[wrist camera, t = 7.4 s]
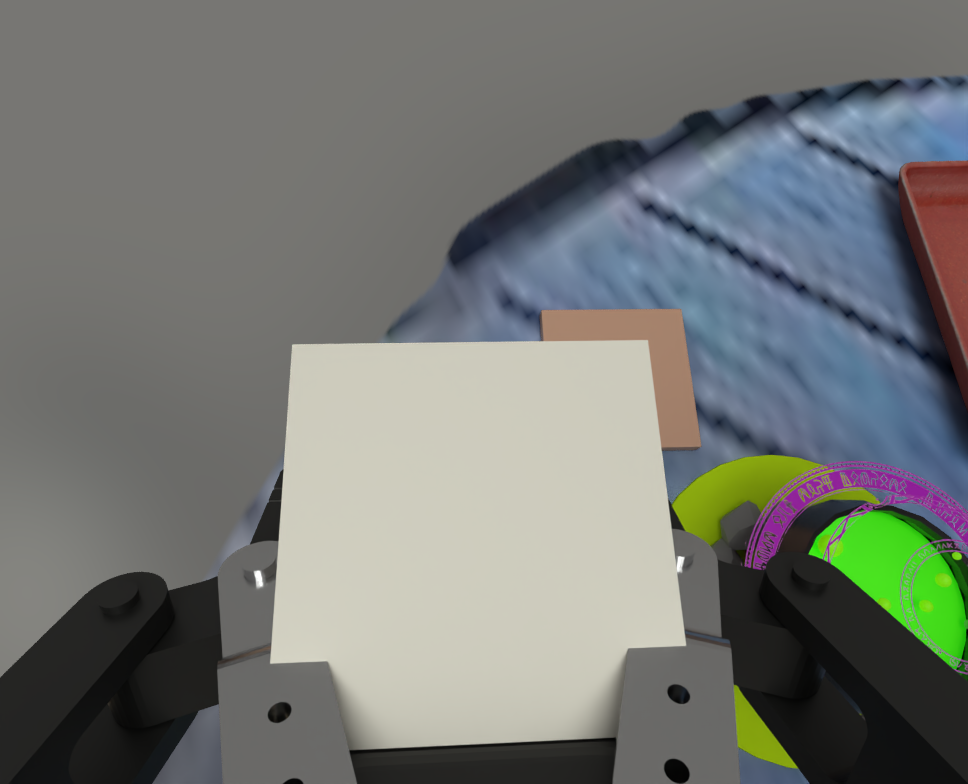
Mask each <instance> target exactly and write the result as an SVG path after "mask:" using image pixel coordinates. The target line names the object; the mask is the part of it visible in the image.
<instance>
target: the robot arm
mask: <svg viewBox="0 0 968 784" xmlns="http://www.w3.org/2000/svg"><path fill="white" fill-rule="evenodd" d="M283 472H284V469H283V470H282V471H281V472H280V475H279V477H278V479H277V482H276V484H275V486H274V490H273V491H272V494H271V496H270V498H269V503H267V505H266V508H265V510H264V512H263V515H262V517H261V520H260V522H259V524H258V527H257V529H256V531H255V534H254V536H253V538H252V541H251V543H250V545H248V546H245V547H243V548H241V549H239V550H237V551H236V552H234V553H233V554H232V555H230V556H229V557H228V558H227V559H226V560H225V561H224V563H223V564H222V566H221V567H220V569H219V572H218V576H217V577H214V578H212V579H209V580H206V581H203V582H200V583H196V584H192V585H188V586H184V587H181V588H177V589H173V590H169V591H168V588H167V585H166V582H165V581H164V579H162V578H161V577H160V576H158V575H156V574H153V573H149V572H134V573H127V574H124V575H120V576H117V577H114V578H111V579H109V580H107V581H105V582H103V583H101V584H99V585H98V586H96V587H94V588H93V589H92V590H90V591H89V592H88V593H87V594H85V595H84V596H83V597H82V598H81V599H80V600H79V601H78V602H77V603H76V604H75V605H74V606H73V607H72V608H71V609H70V610H69V611H68V612H67V613H66V614H65V615H64V616H63V617H62V618H61V619H60V620H59V621H58V622H57V623H56V624H55V625H53V626H52V627H51V628H50V629H49V630H48V631H47V632H46V633H45V634H44V635H43V636H42V637H41V638H40V639H39V640H38V641H37V642H36V643H35V644H34V645H33V646H32V647H31V648H30V649H29V650H28V651H27V652H26V653H25V654H24V655H23V656H22V657H21V658H20V659H19V660H18V661H17V662H16V663H15V664H14V665H13V666H12V667H10V668H9V669H8V671H6V672H5V673H4V674H3V676H1V678H0V784H152V783H153V781H154V780H155V778H156V777H157V775H158V774H159V772H160V771H161V769H162V768H163V766H164V764H165V763H166V761H167V760H168V758H169V757H170V755H171V754H172V752H173V751H174V749H175V748H176V746H177V745H178V743H179V741H180V740H181V738H182V737H183V735H184V734H185V732H186V731H187V729H188V728H189V726H190V725H191V723H192V721H193V720H194V718H195V717H196V715H197V713H198V711H199V710H202V709H205V708H208V707H211V706H214V705H217V704H219V714H220V734H221V753H222V773H223V784H740V772H739V757H738V742H737V727H736V712H735V697H734V685H737V686H738V687H739V690H740V691H741V693H742V694H743V696H744V697H745V698H746V700H747V701H748V702H749V704H750V705H751V706H752V708H753V709H754V710H755V712H756V713H757V714H758V716H759V717H760V718H761V720H762V721H763V722H764V724H765V725H766V726H767V728H768V729H769V730H770V731H771V733H772V734H773V735H774V737H775V738H776V739H777V741H778V742H779V743H780V745H781V746H782V747H783V749H784V750H785V751H786V753H787V754H788V755H789V757H790V758H791V759H792V761H793V762H794V763H795V765H796V766H797V767H798V769H799V770H800V771H801V772H802V774H803V775H804V776H805V778H806V779H807V780H808V782H809V783H810V784H968V681H967V680H966V679H964V678H963V677H962V676H961V675H960V674H959V673H957V672H956V671H955V670H954V669H953V668H952V667H951V666H949V665H948V664H947V663H946V662H945V661H944V660H943V659H941V658H940V657H939V656H938V655H937V654H936V653H935V652H933V651H932V650H931V649H930V648H929V647H928V646H927V645H925V644H924V643H923V642H922V641H921V640H920V639H918V638H917V637H916V636H915V635H914V634H913V633H912V632H910V631H909V630H908V629H907V628H906V627H905V626H904V625H902V624H901V623H900V622H899V621H898V620H897V619H896V618H894V617H893V616H892V615H891V614H890V613H889V612H887V611H886V610H885V609H884V608H883V607H882V606H881V605H879V604H878V603H877V602H876V601H875V600H874V599H873V598H871V597H870V596H869V595H868V594H867V593H866V592H865V591H863V590H862V589H861V588H860V587H859V586H858V585H857V584H855V583H854V582H853V581H852V580H851V579H850V578H848V577H847V576H846V575H845V574H844V573H843V572H842V571H840V570H839V569H838V568H837V567H835V566H834V565H832V564H830V563H829V562H827V561H825V560H823V559H821V558H818V557H816V556H813V555H809V554H805V553H801V552H782V553H779V554H776V555H774V556H772V557H771V558H770V559H769V560H768V562H767V564H766V568H765V571H764V570H759V569H754V568H749V567H744V566H739V565H734V564H730V563H726V562H723V561H720V560H718V559H717V556H716V554H715V552H714V550H713V549H712V547H711V546H710V545H709V544H708V543H707V542H705V541H704V540H703V539H701V538H699V537H698V536H696V535H694V534H692V533H689V532H686V531H685V529H684V527H683V526H682V524H681V522H680V520H679V518H678V516H677V514H676V512H675V511H674V509H673V507H672V505H671V503H670V501H669V499H668V504H669V512H670V520H671V528H672V536H673V544H674V552H675V560H676V568H677V576H678V584H679V592H680V600H681V608H682V616H683V624H684V632H685V640H686V646H672V647H648V648H628V653H627V661H626V668H625V675H624V682H623V690H622V697H621V704H620V711H619V720H618V728H617V737H615V738H594V739H573V740H552V741H531V742H511V743H490V744H469V745H448V746H427V747H406V748H386V749H365V750H349V748H348V744H347V740H346V736H345V732H344V728H343V724H342V719H341V715H340V711H339V707H338V703H337V699H336V695H335V690H334V686H333V682H332V678H331V674H330V670H329V666H328V662H327V661H321V662H297V663H274V664H270V658H271V644H272V630H273V615H274V601H275V587H276V572H277V558H278V544H279V529H280V515H281V501H282V486H283ZM826 671H827V673H828V674H829V675H830V676H831V677H832V678H833V679H834V680H835V681H836V682H837V683H838V684H839V685H840V687H841V688H842V689H843V690H844V691H845V692H846V693H847V694H848V695H849V696H850V697H851V698H852V699H853V701H854V702H855V703H856V704H857V706H858V707H859V708H860V710H861V712H862V714H863V716H864V718H865V720H864V718H863V717H862V716H861V715H860V714H859V713H858V712H857V711H856V710H855V709H854V708H853V706H852V705H851V704H850V703H849V702H848V701H847V700H846V699H845V698H844V697H843V696H842V694H841V693H840V692H839V691H838V690H837V689H836V688H835V687H834V686H833V685H832V684H831V682H830V681H829V680H828V679H827V678H826V677H825V676H824V674H825V672H826Z"/></svg>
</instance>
